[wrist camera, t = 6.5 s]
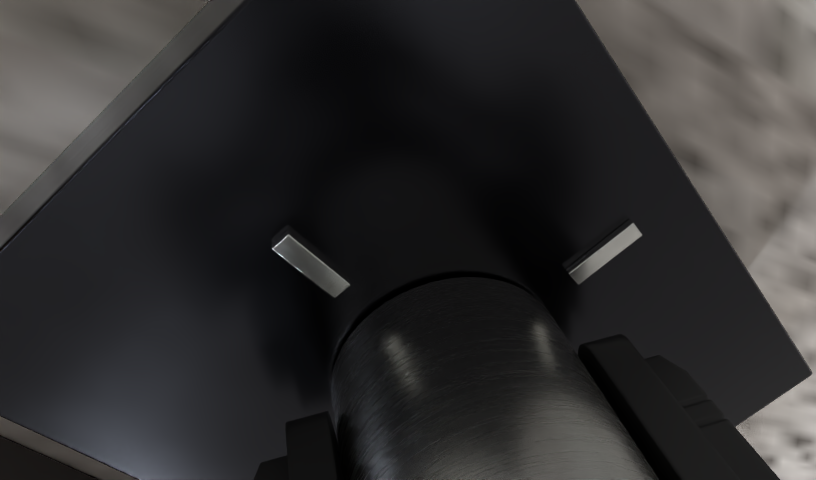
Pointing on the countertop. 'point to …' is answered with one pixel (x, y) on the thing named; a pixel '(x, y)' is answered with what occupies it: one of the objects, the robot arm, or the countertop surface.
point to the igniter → (32, 465)
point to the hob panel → (350, 224)
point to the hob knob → (473, 393)
